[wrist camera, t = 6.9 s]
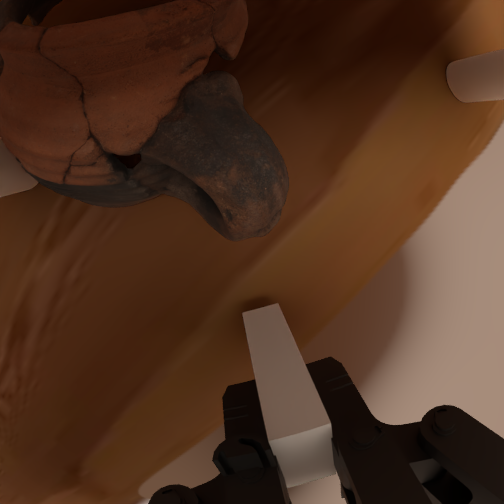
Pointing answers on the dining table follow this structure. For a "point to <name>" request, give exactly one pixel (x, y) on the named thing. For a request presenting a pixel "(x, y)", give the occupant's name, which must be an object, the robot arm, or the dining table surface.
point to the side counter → (458, 78)
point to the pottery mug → (139, 111)
